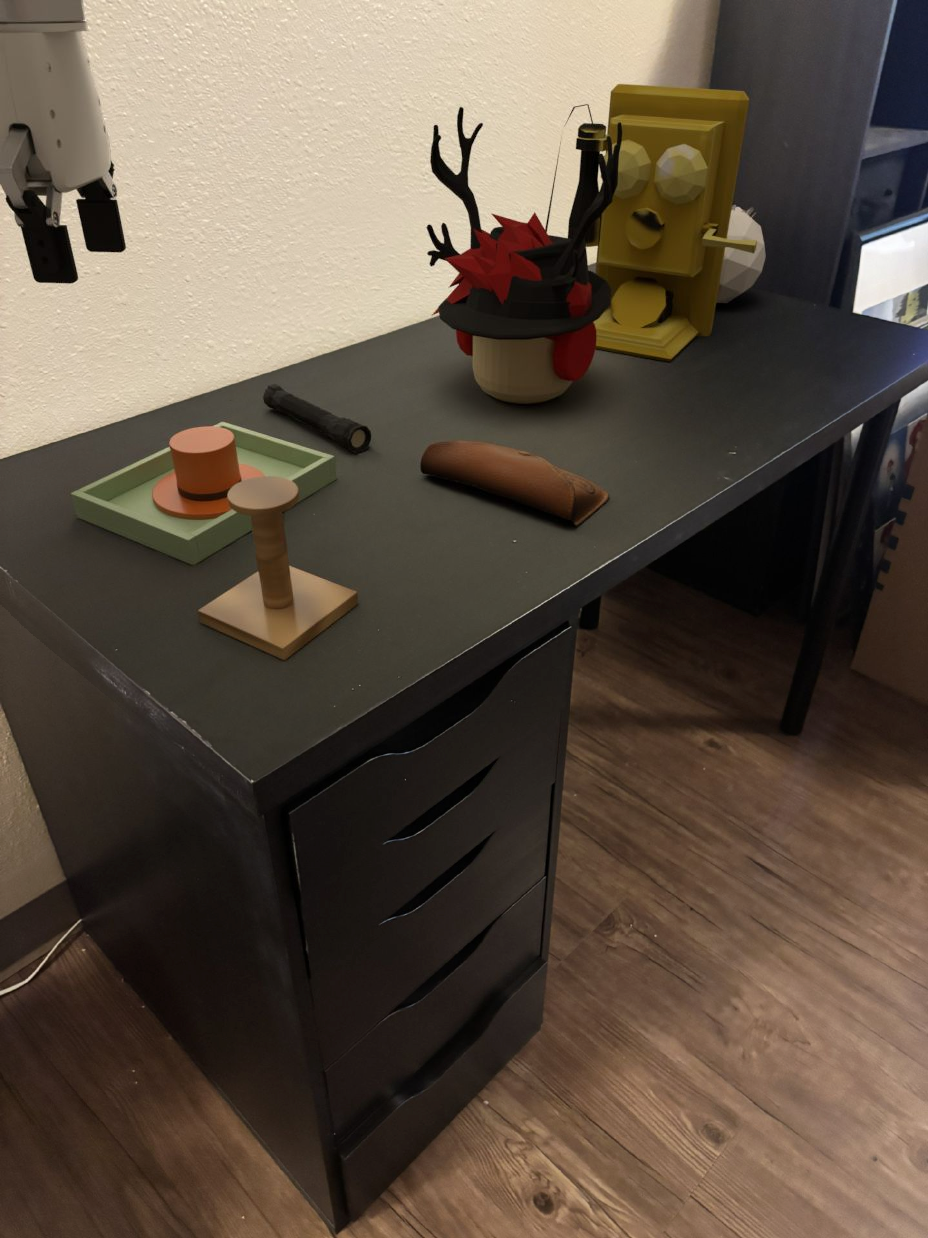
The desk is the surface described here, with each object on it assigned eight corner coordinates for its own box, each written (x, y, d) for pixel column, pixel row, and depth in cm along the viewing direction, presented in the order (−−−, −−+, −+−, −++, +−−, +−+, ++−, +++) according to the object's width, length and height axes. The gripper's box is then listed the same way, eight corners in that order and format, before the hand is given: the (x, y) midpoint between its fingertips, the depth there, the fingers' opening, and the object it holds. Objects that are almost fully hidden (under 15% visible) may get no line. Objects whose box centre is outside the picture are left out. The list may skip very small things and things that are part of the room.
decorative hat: (644, 387, 113) (677, 112, 95) (555, 446, 99) (575, 138, 81) (493, 349, 124) (498, 96, 106) (394, 398, 110) (380, 117, 92)
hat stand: (284, 661, 69) (266, 534, 62) (199, 622, 73) (174, 500, 66) (358, 603, 75) (349, 483, 68) (276, 571, 79) (260, 454, 72)
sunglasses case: (615, 491, 89) (604, 449, 84) (582, 548, 88) (568, 510, 82) (466, 445, 98) (447, 405, 92) (433, 497, 96) (411, 459, 90)
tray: (193, 565, 79) (188, 540, 78) (77, 517, 86) (70, 493, 85) (336, 479, 93) (334, 455, 91) (226, 443, 100) (222, 421, 98)
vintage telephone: (504, 332, 129) (510, 90, 112) (545, 306, 139) (557, 79, 122) (720, 372, 117) (767, 106, 100) (749, 340, 127) (795, 93, 109)
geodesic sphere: (741, 242, 148) (710, 169, 138) (804, 263, 137) (775, 186, 128) (674, 308, 149) (638, 241, 139) (732, 334, 138) (697, 263, 129)
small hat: (210, 531, 83) (200, 476, 80) (128, 499, 88) (116, 446, 85) (291, 484, 90) (285, 432, 87) (212, 457, 95) (203, 407, 92)
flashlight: (350, 456, 97) (348, 430, 95) (263, 411, 107) (260, 387, 105) (372, 448, 99) (370, 422, 97) (284, 404, 108) (281, 380, 106)
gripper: (29, 3, 70) (81, 240, 79) (-99, 7, 55) (-17, 294, 65) (125, 4, 69) (165, 242, 79) (21, 8, 55) (85, 297, 65)
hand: (83, 265), depth 72 cm, fingers open, 9 cm apart
